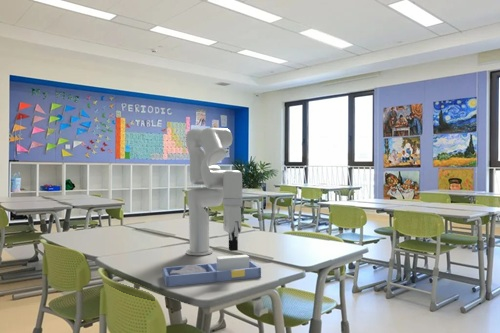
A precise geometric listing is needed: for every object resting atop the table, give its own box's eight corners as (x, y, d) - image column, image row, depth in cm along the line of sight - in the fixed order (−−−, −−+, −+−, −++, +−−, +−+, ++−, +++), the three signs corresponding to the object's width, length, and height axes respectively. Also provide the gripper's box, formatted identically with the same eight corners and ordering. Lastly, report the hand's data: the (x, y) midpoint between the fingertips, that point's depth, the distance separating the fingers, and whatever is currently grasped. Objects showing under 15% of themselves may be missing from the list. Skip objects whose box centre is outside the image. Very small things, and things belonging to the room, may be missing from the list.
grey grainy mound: (209, 282, 145) (191, 273, 151) (210, 270, 144) (192, 261, 151) (184, 290, 136) (167, 280, 142) (186, 277, 135) (168, 268, 141)
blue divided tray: (162, 276, 147) (162, 267, 147) (250, 268, 158) (250, 259, 158) (166, 287, 134) (166, 276, 134) (261, 277, 145) (261, 267, 145)
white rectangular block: (216, 274, 149) (216, 256, 149) (246, 272, 153) (246, 254, 153) (219, 277, 145) (218, 259, 145) (249, 274, 149) (249, 256, 149)
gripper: (218, 201, 155) (219, 247, 154) (228, 204, 140) (228, 255, 140) (236, 200, 157) (237, 246, 157) (247, 203, 143) (248, 253, 143)
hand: (233, 250), depth 149 cm, fingers closed
